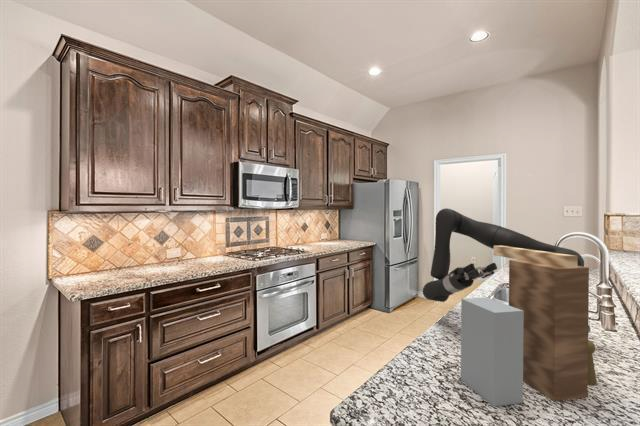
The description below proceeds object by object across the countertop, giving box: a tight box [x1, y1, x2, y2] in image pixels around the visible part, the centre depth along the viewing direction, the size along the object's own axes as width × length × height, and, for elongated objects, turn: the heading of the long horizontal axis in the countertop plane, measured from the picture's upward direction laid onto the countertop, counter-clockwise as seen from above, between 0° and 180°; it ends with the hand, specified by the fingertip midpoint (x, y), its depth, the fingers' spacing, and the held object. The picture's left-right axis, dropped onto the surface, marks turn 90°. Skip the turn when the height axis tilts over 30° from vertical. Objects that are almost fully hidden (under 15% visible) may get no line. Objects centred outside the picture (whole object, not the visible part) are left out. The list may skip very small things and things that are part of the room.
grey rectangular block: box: [460, 297, 524, 408], centre depth 79 cm, size 12×8×22 cm, turn 12°
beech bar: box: [493, 246, 578, 268], centre depth 88 cm, size 24×3×3 cm, turn 12°
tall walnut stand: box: [508, 259, 590, 402], centre depth 83 cm, size 14×10×32 cm
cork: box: [588, 339, 598, 386], centre depth 85 cm, size 6×6×11 cm
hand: (484, 265), depth 105 cm, fingers open, 8 cm apart
